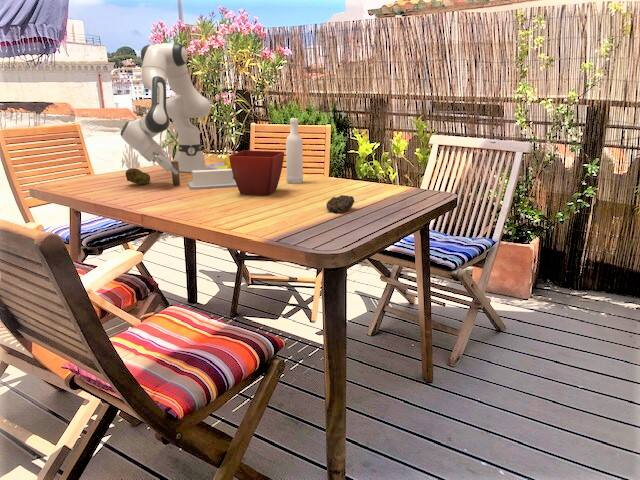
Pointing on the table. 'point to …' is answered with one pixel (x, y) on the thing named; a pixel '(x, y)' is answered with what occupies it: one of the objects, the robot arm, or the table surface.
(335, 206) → the dark brown rock
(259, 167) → the plant pot
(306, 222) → the table surface
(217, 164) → the fruit bowl
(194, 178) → the ridge
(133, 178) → the potato
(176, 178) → the post
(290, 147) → the bottle
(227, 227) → the table surface
